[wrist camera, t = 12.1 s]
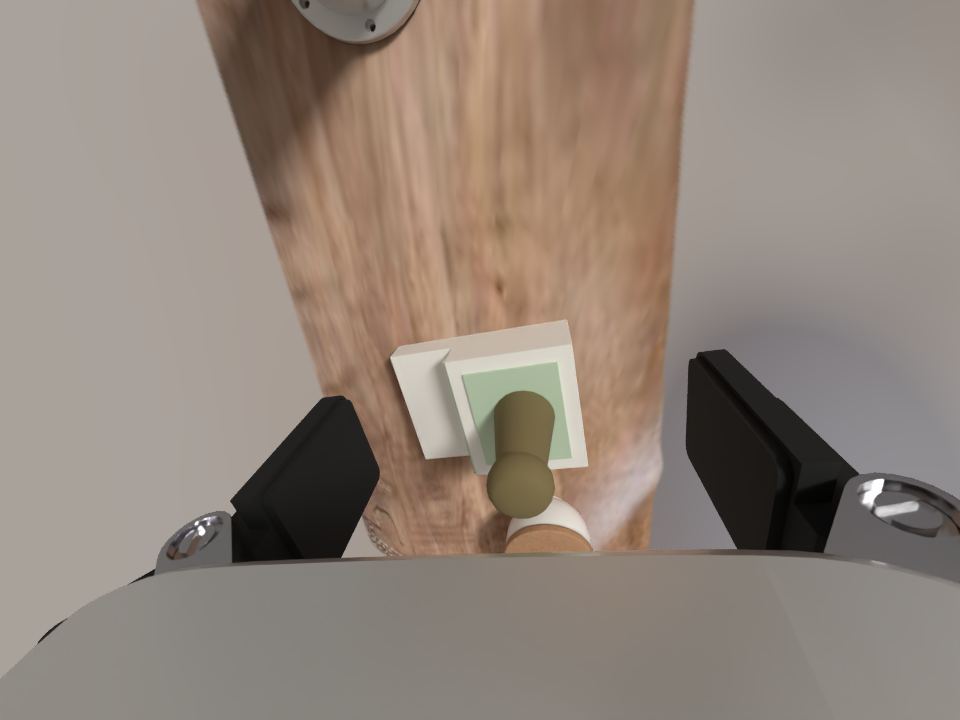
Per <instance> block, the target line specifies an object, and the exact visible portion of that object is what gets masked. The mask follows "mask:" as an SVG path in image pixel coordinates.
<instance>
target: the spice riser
mask: <svg viewBox="0 0 960 720" xmlns="http://www.w3.org/2000/svg"><path fill="white" fill-rule="evenodd" d="M390 359H391V361H392V364H393V367H394V370H395V373H396V376H397V379H398V381H399V384H400V387H401V390H402V393H403V396H404V399H405V401H406V404H407V407H408V410H409V413H410V416H411V419H412V421H413V424H414V427H415V430H416V433H417V436H418V439H419V441H420V444H421V447H422V450H423V453H424V456H425V459H435V458H446V457H457V456H468V455H469V456H470V459H471V463H472V466H473V470H474V473H476V474H477V475H484V474H488V472H489V471H490V469H491V467H492V465H493V464H494V462H495V461H496V459H495V436H494V409H495V407H496V405H497V403H498V401H499V400H500V399H502V398H503V397H504V396H505V395H507V394H509V393H512V392H515V391H522V390H524V391H531V392H535V393H537V394H539V395H542V396H543V397H544V398H546V399H547V400H548V401H549V402H550V404H551V405H552V407H553V409H554V413H555V422H554V429H553V435H552V441H551V447H550V454H549V460H548V467H549V468H550V469H561V468H574V467H587V466H588V460H587V453H586V445H585V438H584V430H583V423H582V416H581V408H580V401H579V393H578V386H577V378H576V371H575V363H574V356H573V348H572V342H571V337H570V332H569V327H568V322H567V319H566V320H560V321H554V322H547V323H541V324H535V325H529V326H522V327H516V328H510V329H504V330H497V331H491V332H485V333H479V334H472V335H466V336H460V337H454V338H448V339H441V340H435V341H429V342H423V343H416V344H410V345H404V346H399V347H398V348H397V350H396V351H395V352H394V353H393V354H392V356H391V357H390Z"/></svg>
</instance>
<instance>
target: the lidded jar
mask: <svg viewBox="0 0 960 720" xmlns="http://www.w3.org/2000/svg"><path fill="white" fill-rule="evenodd" d="M576 551H593V548H592V543H591V538H590V535H589V532H588V528H587V526H586V524H585V522H584V520H583V518H582V517H581V515H580V514H579V513H578V511H577V510H576V509H575V508H574V507H572V506H571V505H570V504H568V503H567V502H565V501H564V500H562V499H561V498H559V497H556V496H553V498H552V502H551V503H550V505H549V506H548V507H547V509H546V510H545V511H544V512H542V513H541V514H539V515H538V516H535V517H532V518H528V519H518V518H512V519H511V521H510V524H509V528H508V532H507V536H506V544H505V548H504V553H530V552H576Z"/></svg>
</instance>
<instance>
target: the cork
mask: <svg viewBox="0 0 960 720" xmlns="http://www.w3.org/2000/svg"><path fill="white" fill-rule="evenodd" d="M554 422H555V413H554V409H553V407H552V405H551V404H550V402H549V401H548V400H547V399H546V398H544V397H543V396H542V395H539V394H537V393H535V392H531V391H524V390H522V391H515V392H512V393H509V394H507V395H505V396H504V397H503V398H502V399H500V400H499V401H498V403H497V405H496V407H495V409H494V436H495V459H496V461H495V462H494V464H493V465H492V467H491V469H490V471H489V472H488V477H487V485H486V487H487V492H488V496H489V499H490V500H491V502H492V503H493V505H494V506H495V507H496V509H497V510H499V511H500V512H501V513H503V514H504V515H507V516H509V517H512V518H518V519H528V518H532V517H535V516H538V515H539V514H541V513H542V512H544V511H545V510H546V509H547V507H548V506H549V505H550V503H551V502H552V498H553V494H554V490H555V486H554V479H553V475H552V472H551V470H550V468H549V467H548V460H549V454H550V447H551V441H552V435H553V429H554Z"/></svg>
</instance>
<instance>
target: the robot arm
mask: <svg viewBox="0 0 960 720" xmlns="http://www.w3.org/2000/svg"><path fill="white" fill-rule="evenodd" d="M291 1H292V3H293V4H294V5H295V6H296V8H297V9H298V10H299V12H300V13H301V14H302V15H303V16H304V17H305V18H306V19H307V20H308V21H309V22H310V23H311V24H313V25H314V26H315V27H316V28H318V29H319V30H321V31H322V32H324V33H325V34H326V35H328V36H331V37H333V38H335V39H337V40H339V41H342V42H346V43H351V44H369V43H373V42H377V41H380V40H382V39H384V38H386V37H388V36H389V35H391V34H393V33H394V32H395V31H396V30H398V29H399V28H400V27H401V26H402V25H403V24H404V23H405V22H406V21H407V19H408V18H409V16H410V15H411V14H412V12H413V11H414V9H415V8H416V6H417V4H418V2H419V0H291ZM309 3H310V5H309V8H308V4H309ZM373 26H376V28H375V31H374V32H372V27H373ZM686 450H687V454H688V457H689V459H690V461H691V463H692V465H693V467H694V469H695V470H696V472H697V474H698V476H699V478H700V480H701V482H702V483H703V486H704V487H705V489H706V491H707V493H708V495H709V496H710V498H711V500H712V502H713V504H714V506H715V508H716V510H717V512H718V514H719V516H720V517H721V519H722V521H723V523H724V525H725V527H726V528H727V531H728V532H729V534H730V536H731V538H732V540H733V542H734V544H735V546H736V547H737V549H699V550H698V549H697V550H623V551H576V552H530V553H491V554H454V555H419V556H385V557H357V558H356V557H355V558H341V557H342V555H343V553H344V551H345V549H346V547H347V544H348V542H349V540H350V538H351V536H352V534H353V532H354V530H355V528H356V526H357V524H358V522H359V520H360V518H361V515H362V513H363V511H364V509H365V507H366V505H367V503H368V501H369V499H370V497H371V495H372V493H373V491H374V489H375V487H376V484H377V482H378V480H379V476H380V471H379V467H378V464H377V462H376V460H375V457H374V455H373V452H372V450H371V448H370V445H369V443H368V440H367V438H366V435H365V433H364V431H363V428H362V426H361V423H360V421H359V419H358V416H357V414H356V411H355V409H354V407H353V404H352V402H351V401H350V400H346V398H345V397H344V396H333V397H325V398H322V399H321V400H320V401H319V402H318V403H317V404H316V405H315V406H314V407H313V408H312V410H311V411H310V412H309V413H308V414H307V415H306V416H305V418H304V419H303V420H302V421H301V422H300V423H299V424H298V425H297V426H296V428H295V429H294V430H293V431H292V432H291V433H290V434H289V435H288V437H287V438H286V439H285V440H284V441H283V442H282V443H281V445H279V447H278V448H277V449H276V450H275V451H274V452H273V453H272V455H271V456H270V457H269V458H268V459H267V460H266V461H265V462H264V463H263V465H262V466H261V467H260V468H259V469H258V470H257V471H256V473H254V475H253V476H252V477H251V478H250V479H249V480H248V481H247V482H246V483H245V485H244V486H243V487H242V488H241V489H240V490H239V491H238V492H237V494H236V495H235V496H234V497H233V498H232V499H231V501H230V502H231V503H232V504H233V506H234V508H235V509H236V513H235V514H234V515H233V516H232V517H231V516H230V514H228V513H227V512H225V511H216V512H212V513H208V514H205V515H203V516H200V517H198V518H196V519H195V520H193V521H191V522H189V523H188V524H186V525H185V526H183V527H182V528H181V529H179V530H178V531H177V532H176V533H175V534H174V535H173V536H172V537H171V538H169V539H168V541H167V542H166V543H165V545H164V546H163V547H162V549H161V551H160V553H159V555H158V559H157V564H156V568H155V569H154V570H152V571H151V572H149V573H147V574H145V575H144V576H142V577H140V578H138V579H136V580H135V581H133V582H131V583H130V584H128V585H126V586H123V587H120V588H118V589H116V590H114V591H112V592H110V593H107V594H105V595H103V596H102V597H100V598H98V599H96V600H94V601H92V602H90V603H88V604H87V605H85V606H84V607H82V608H80V609H79V610H78V611H76V612H75V613H74V614H72V615H71V616H70V617H69V618H67V619H65V620H63V621H62V622H60V623H58V624H57V625H55V626H54V627H53V628H52V629H50V630H49V631H48V632H47V633H46V634H45V635H44V636H43V637H42V638H41V639H40V640H39V642H38V644H37V645H36V646H35V647H34V648H33V649H32V650H31V651H30V652H29V653H28V654H27V655H25V656H24V657H23V658H22V659H21V660H20V661H19V662H18V663H17V664H16V665H15V666H14V667H13V668H12V669H10V670H9V671H8V672H7V673H6V674H5V675H4V676H3V677H2V678H1V679H0V720H960V500H959V499H957V498H956V497H954V496H953V495H951V494H949V493H947V492H945V491H943V490H941V489H939V488H937V487H935V486H933V485H930V484H927V483H925V482H922V481H919V480H916V479H913V478H909V477H904V476H900V475H895V474H886V473H868V474H859V473H858V472H857V471H856V470H855V469H854V468H852V467H851V466H850V465H849V464H848V463H847V462H846V461H845V460H844V459H843V458H842V457H841V456H840V455H839V454H838V453H837V452H836V451H835V450H834V449H832V448H831V447H830V446H829V445H828V444H827V443H826V442H825V441H824V440H823V439H822V438H821V437H820V436H819V435H818V434H817V433H816V432H814V431H813V430H812V429H811V428H810V427H809V426H808V425H807V424H806V423H805V422H804V421H803V420H802V419H801V418H800V417H799V416H798V415H796V413H795V412H794V411H792V410H791V409H790V408H789V407H788V406H787V405H786V404H785V403H784V402H783V401H781V400H780V399H779V398H776V397H774V395H773V394H772V393H771V392H769V391H768V390H767V389H766V388H765V387H764V386H763V385H762V384H761V383H760V382H759V381H758V380H757V379H756V378H755V377H754V376H753V375H752V374H751V373H750V372H749V371H748V370H746V368H744V367H743V366H742V365H741V364H740V363H739V362H738V361H737V360H736V359H735V358H734V357H733V356H732V355H731V354H730V353H729V352H728V351H727V350H725V349H722V350H713V351H705V352H699V353H698V354H697V357H696V358H695V359H690V361H689V367H688V394H687V423H686Z"/></svg>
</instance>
